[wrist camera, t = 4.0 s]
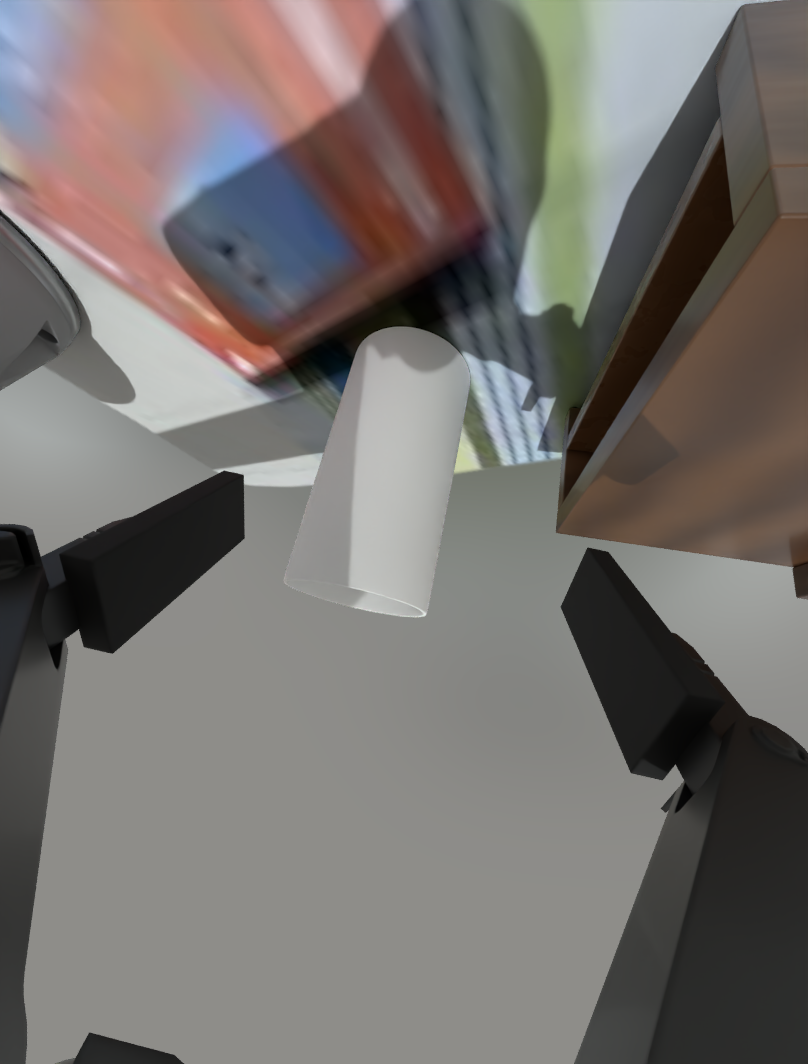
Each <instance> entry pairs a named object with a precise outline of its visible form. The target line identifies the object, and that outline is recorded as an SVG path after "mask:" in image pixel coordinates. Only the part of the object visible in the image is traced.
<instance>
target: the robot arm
mask: <svg viewBox="0 0 808 1064" xmlns="http://www.w3.org/2000/svg"><path fill="white" fill-rule="evenodd" d="M80 325H81V321H80V315H79V311H78V309H77V306H76V304H75V302H74V300H73V298H72V296H71V294H70V293H69V291H68V290H67V288H66V286H65V285H64V284H63V282H62V281H61V279H60V278H59V277H58V275H57V274H56V273H55V272H54V270H53V269H52V268H51V267H50V265H49V264H48V263H47V262H46V261H45V260H44V258H43V257H42V256H41V255H40V254H39V253H38V252H37V251H36V250H35V249H34V247H33V246H32V245H31V244H30V243H29V242H28V241H27V240H26V239H25V238H24V237H23V236H22V235H21V234H20V233H19V232H18V231H17V230H16V229H15V228H14V227H13V226H11V225H10V224H9V223H8V222H7V221H6V220H5V219H4V218H3V217H2V216H1V215H0V390H2V389H4V388H5V387H7V386H9V385H10V384H12V383H13V382H15V381H17V380H18V379H20V378H22V377H24V376H25V375H27V374H29V373H30V372H32V371H34V370H35V369H37V368H39V367H40V366H42V365H44V364H45V363H47V362H49V361H50V360H52V359H54V358H55V357H57V356H59V355H60V354H61V353H62V352H63V351H64V350H65V349H66V348H67V347H68V346H69V345H70V344H71V342H72V341H73V339H74V338H75V336H76V335H77V333H78V331H79V329H80ZM244 536H245V535H244V475H242V474H237V473H233V472H228V471H223V472H221V473H219V474H217V475H215V476H213V477H211V478H209V479H207V480H205V481H203V482H201V483H199V484H197V485H195V486H193V487H191V488H189V489H187V490H185V491H183V492H181V493H179V494H177V495H175V496H173V497H171V498H169V499H167V500H165V501H163V502H161V503H159V504H157V505H155V506H153V507H151V508H149V509H147V510H145V511H143V512H141V513H139V514H137V515H135V516H133V517H129V518H126V519H122V520H118V521H114V522H111V523H109V524H107V525H105V526H103V527H101V528H99V529H97V531H96V532H94V531H93V532H91V533H89V534H87V535H85V536H83V538H78V539H76V540H74V541H72V542H70V543H68V544H66V545H64V546H62V547H60V548H58V549H56V550H54V551H52V552H50V553H48V554H46V555H44V556H42V557H41V556H40V553H39V550H38V546H37V543H36V540H35V536H34V533H33V530H32V529H30V528H28V527H26V526H22V525H15V524H0V1064H25V1061H26V1049H27V1021H26V1013H25V1004H24V995H23V992H24V991H23V990H24V988H23V984H24V971H25V964H26V957H27V949H28V942H29V934H30V927H31V920H32V912H33V905H34V898H35V891H36V883H37V876H38V868H39V861H40V854H41V846H42V839H43V831H44V824H45V817H46V809H47V802H48V794H49V787H50V779H51V773H52V772H51V771H52V765H53V757H54V750H55V743H56V735H57V728H58V721H59V713H60V705H61V698H62V691H63V684H64V677H65V669H66V662H67V654H68V648H67V645H66V641H65V638H67V637H69V636H70V635H71V634H73V633H74V632H75V631H77V630H78V629H79V631H80V635H81V638H82V642H83V646H84V647H86V648H90V649H94V650H99V651H103V652H107V653H114V652H115V651H116V650H117V649H118V648H120V647H121V646H122V645H123V644H124V643H125V642H127V641H128V640H129V639H130V638H131V637H132V636H133V635H135V634H136V633H137V632H138V631H139V630H140V629H141V628H143V627H144V626H145V625H146V624H147V623H148V622H149V621H151V619H153V618H154V617H155V616H156V615H157V614H158V613H160V612H161V611H162V610H163V609H164V608H166V607H167V606H168V605H169V604H170V603H171V602H172V601H173V600H174V599H176V598H177V597H178V596H179V595H180V594H182V592H184V591H185V590H186V589H187V588H188V587H190V586H191V585H192V584H193V583H194V582H195V581H196V580H198V579H199V578H200V577H201V576H202V575H203V574H204V573H206V572H207V571H208V570H209V569H210V568H211V567H212V566H213V565H215V564H216V563H217V562H218V561H219V560H220V559H221V558H222V557H224V556H225V555H226V554H227V553H228V552H230V551H231V550H232V549H233V548H234V547H235V546H236V545H238V544H239V543H240V542H241V541H242V540H243V539H244V538H245V537H244ZM561 609H562V611H563V614H564V616H565V618H566V621H567V623H568V625H569V628H570V630H571V633H572V635H573V637H574V640H575V642H576V644H577V647H578V649H579V651H580V654H581V656H582V659H583V661H584V663H585V666H586V668H587V670H588V673H589V675H590V678H591V680H592V682H593V685H594V687H595V689H596V692H597V694H598V696H599V699H600V701H601V704H602V706H603V708H604V711H605V713H606V715H607V718H608V720H609V722H610V725H611V727H612V730H613V732H614V734H615V737H616V739H617V741H618V744H619V746H620V749H621V751H622V753H623V755H624V758H625V760H626V763H627V765H628V767H629V770H630V772H631V773H633V774H637V775H642V776H646V777H651V778H655V779H659V780H663V779H664V778H665V777H666V775H667V774H668V773H669V772H670V770H671V769H672V768H673V767H674V765H675V764H676V766H677V768H678V770H679V771H680V773H681V775H682V777H683V779H684V782H683V783H682V784H681V786H680V787H679V788H678V789H677V790H676V791H675V792H674V794H673V795H672V796H671V797H670V798H669V800H668V801H667V802H666V803H665V804H664V806H663V807H662V808H661V809H662V810H663V811H664V812H667V811H668V810H669V812H668V814H667V817H666V819H665V822H664V825H663V828H662V830H661V833H660V836H659V838H658V841H657V844H656V846H655V849H654V852H653V854H652V857H651V860H650V862H649V865H648V868H647V870H646V873H645V876H644V879H643V881H642V884H641V887H640V889H639V892H638V894H637V897H636V900H635V903H634V905H633V908H632V910H631V913H630V916H629V919H628V921H627V924H626V927H625V929H624V932H623V935H622V937H621V940H620V943H619V945H618V948H617V951H616V953H615V956H614V959H613V962H612V964H611V967H610V969H609V972H608V975H607V977H606V980H605V983H604V986H603V988H602V991H601V993H600V996H599V999H598V1001H597V1004H596V1007H595V1010H594V1012H593V1015H592V1017H591V1020H590V1023H589V1026H588V1028H587V1031H586V1034H585V1036H584V1039H583V1042H582V1044H581V1047H580V1050H579V1052H578V1055H577V1058H576V1060H575V1063H574V1064H808V753H807V751H806V750H805V749H804V748H803V747H802V746H801V745H800V744H799V743H798V742H796V741H795V740H794V739H793V738H792V737H791V736H789V735H788V734H786V733H785V732H783V731H782V730H780V729H779V728H777V727H776V726H774V725H772V724H770V723H767V722H766V721H764V720H762V719H759V718H755V717H752V716H749V715H748V714H747V713H746V712H745V710H744V709H743V708H742V707H741V706H740V704H739V703H738V702H737V701H736V699H735V698H734V697H733V696H732V695H731V693H730V692H729V691H728V690H727V688H726V687H725V686H724V685H723V683H722V682H721V681H720V680H719V679H718V677H716V676H714V672H713V671H712V670H711V669H710V668H709V666H708V665H706V664H704V660H703V659H702V658H701V657H700V655H699V654H698V653H697V652H696V650H695V649H694V648H693V647H692V646H690V645H689V644H688V643H687V642H686V641H684V640H683V639H682V638H681V637H680V636H678V635H677V634H675V633H671V632H670V630H669V629H668V628H667V626H666V625H665V624H664V623H663V621H662V620H661V619H660V618H659V616H658V615H657V614H656V613H655V611H654V610H653V609H652V607H651V606H650V605H649V603H648V602H647V601H646V600H645V598H644V597H643V596H642V595H641V593H640V592H639V591H638V590H637V588H636V587H635V586H634V584H633V583H632V582H631V580H630V579H629V578H628V577H627V575H626V574H625V573H624V572H623V570H622V569H621V568H620V566H619V565H618V564H617V563H616V562H615V560H614V559H613V558H612V556H611V555H610V554H609V552H606V551H601V550H597V549H592V548H587V550H586V552H585V554H584V557H583V559H582V561H581V563H580V565H579V568H578V570H577V572H576V574H575V576H574V579H573V581H572V583H571V585H570V587H569V590H568V592H567V594H566V596H565V599H564V601H563V603H562V605H561ZM56 1064H184V1063H182V1062H181V1061H180V1060H179V1059H178V1058H177V1057H176V1056H175V1055H172V1054H168V1053H165V1052H161V1051H157V1050H153V1049H150V1048H146V1047H142V1046H138V1045H134V1044H131V1043H127V1042H123V1041H119V1040H115V1039H112V1038H108V1037H104V1036H101V1035H96V1034H93V1033H89V1034H88V1036H87V1038H86V1040H85V1042H84V1043H83V1045H82V1047H81V1049H80V1051H79V1053H78V1055H77V1056H76V1058H73V1059H68V1060H64V1061H62V1062H59V1063H56Z"/></svg>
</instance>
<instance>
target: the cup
mask: <svg viewBox="0 0 808 1064" xmlns="http://www.w3.org/2000/svg"><path fill="white" fill-rule="evenodd" d="M469 388H470V372H469V368H468V366H467V363H466V361H465V360H464V358H463V357H462V355H461V354H460V353H459V351H458V350H457V349H456V348H455V347H454V346H452V345H451V344H450V343H449V342H447V341H446V340H444V339H443V338H441V337H439V336H437V335H435V334H433V333H431V332H428V331H425V330H422V329H418V328H413V327H390V328H385V329H381V330H379V331H376V332H374V333H372V334H371V335H369V336H368V337H366V338H365V339H364V340H363V341H362V343H361V344H360V345H359V347H358V349H357V351H356V354H355V357H354V360H353V363H352V367H351V370H350V373H349V376H348V379H347V382H346V385H345V388H344V391H343V395H342V398H341V401H340V404H339V407H338V410H337V413H336V416H335V419H334V422H333V426H332V429H331V432H330V435H329V438H328V441H327V444H326V447H325V450H324V454H323V457H322V460H321V463H320V466H319V469H318V472H317V475H316V478H315V481H314V485H313V488H312V491H311V494H310V497H309V500H308V503H307V507H306V510H305V513H304V516H303V519H302V522H301V525H300V528H299V532H298V534H297V537H296V541H295V544H294V547H293V550H292V553H291V557H290V559H289V562H288V566H287V569H286V572H285V576H284V581H283V582H284V583H285V584H286V585H287V586H289V587H291V588H293V589H295V590H297V591H300V592H302V593H305V594H308V595H311V596H313V597H316V598H320V599H323V600H326V601H330V602H333V603H337V604H341V605H345V606H349V607H353V608H357V609H362V610H367V611H371V612H377V613H382V614H388V615H396V616H405V617H423V616H426V613H427V610H428V605H429V601H430V596H431V591H432V585H433V580H434V575H435V569H436V564H437V558H438V553H439V548H440V543H441V537H442V532H443V527H444V521H445V516H446V511H447V505H448V500H449V495H450V489H451V483H452V479H453V473H454V468H455V463H456V457H457V452H458V447H459V441H460V436H461V431H462V425H463V420H464V415H465V409H466V404H467V399H468V393H469Z"/></svg>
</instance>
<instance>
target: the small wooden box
mask: <svg viewBox="0 0 808 1064" xmlns="http://www.w3.org/2000/svg"><path fill="white" fill-rule="evenodd" d="M715 72H716V81H717V89H718V97H719V106H720V114H721V116H720V117H719V118H718V120H717V122H716V124H715V126H714V128H713V130H712V133H711V135H710V137H709V139H708V141H707V143H706V145H705V147H704V150H703V152H702V154H701V156H700V158H699V160H698V162H697V164H696V166H695V169H694V171H693V173H692V175H691V177H690V179H689V181H688V183H687V186H686V188H685V190H684V192H683V194H682V196H681V198H680V200H679V203H678V205H677V207H676V209H675V211H674V213H673V215H672V217H671V219H670V222H669V224H668V226H667V228H666V230H665V232H664V234H663V236H662V239H661V241H660V243H659V245H658V247H657V249H656V251H655V253H654V256H653V258H652V260H651V262H650V264H649V266H648V268H647V270H646V272H645V275H644V277H643V279H642V281H641V283H640V285H639V287H638V289H637V292H636V294H635V296H634V298H633V300H632V302H631V304H630V306H629V309H628V311H627V313H626V315H625V317H624V319H623V321H622V323H621V325H620V328H619V330H618V332H617V334H616V336H615V338H614V340H613V342H612V345H611V347H610V349H609V351H608V353H607V355H606V357H605V359H604V361H603V364H602V366H601V368H600V370H599V372H598V374H597V376H596V378H595V381H594V383H593V385H592V387H591V389H590V391H589V393H588V395H587V398H586V400H585V402H584V404H583V406H582V408H570V409H569V411H568V413H567V415H566V418H565V428H564V440H563V452H562V465H561V477H560V489H559V501H558V513H557V526H556V533H560V534H568V535H575V536H581V537H588V538H595V539H602V540H609V541H616V542H623V543H629V544H637V545H644V546H650V547H657V548H664V549H671V550H679V551H685V552H692V553H699V554H706V555H713V556H720V557H727V558H734V559H740V560H748V561H754V562H761V563H769V564H775V565H782V566H789V567H794V568H793V576H794V582H795V590H796V597H797V598H802V599H808V0H784V1H774V2H765V3H755V4H745V5H743V6H742V7H741V8H740V10H739V12H738V15H737V17H736V19H735V22H734V24H733V26H732V29H731V31H730V33H729V36H728V38H727V40H726V43H725V45H724V47H723V50H722V52H721V54H720V57H719V59H718V61H717V64H716V66H715Z"/></svg>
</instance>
